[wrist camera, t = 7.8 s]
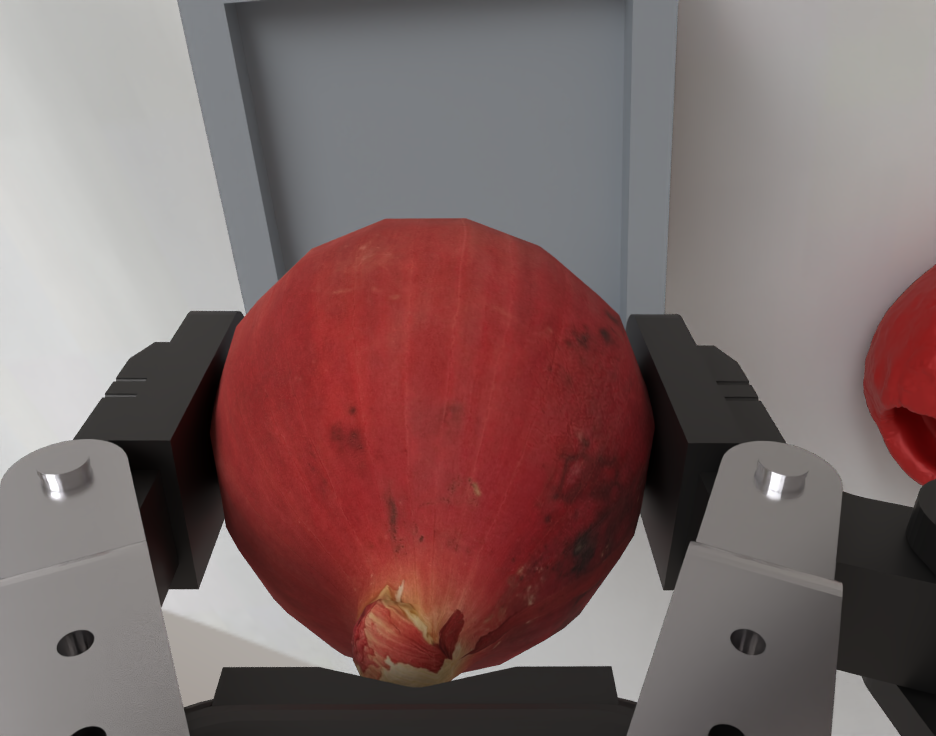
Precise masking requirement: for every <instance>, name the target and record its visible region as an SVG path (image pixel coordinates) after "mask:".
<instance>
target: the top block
mask: <svg viewBox="0 0 936 736" xmlns="http://www.w3.org/2000/svg"><path fill="white" fill-rule="evenodd" d="M177 2H178V6H179V11H180V15H181V20H182V24H183V29H184V34H185V38H186V43H187V47H188V52H189V56H190V61H191V65H192V70H193V75H194V79H195V84H196V88H197V93H198V97H199V102H200V106H201V111H202V116H203V120H204V125H205V129H206V134H207V138H208V143H209V147H210V152H211V157H212V161H213V166H214V170H215V175H216V179H217V184H218V188H219V193H220V198H221V202H222V207H223V211H224V216H225V220H226V225H227V229H228V234H229V239H230V243H231V248H232V252H233V257H234V261H235V266H236V270H237V275H238V280H239V284H240V289H241V293H242V298H243V302H244V307H245V311H246V314H247V313H248V312H249V311H250V309H251V308H252V307H253V306H254V305H255V303H256V302H257V301H258V300H259V299H260V298H261V297H262V296H263V295H264V294H265V293H266V292H267V291H268V290H269V289H270V288H271V287H272V286H273V285H274V284H276V283H277V282H278V281H279V280H280V279H281V278H282V277H283V276H284V275H285V274H286V273H287V272H288V271H289V270H290V269H291V268H292V267H293V266H294V265H295V264H296V263H297V262H298V261H299V260H300V259H301V258H302V257H304V256H305V255H306V254H307V253H308V252H309V251H310V250H311V249H312V248H315V247H317V246H319V245H322V244H324V243H327V242H329V241H332V240H334V239H337V238H339V237H342V236H344V235H347V234H349V233H351V232H354V231H356V230H359V229H361V228H364V227H366V226H369V225H371V224H374V223H376V222H378V221H381V220H383V219H406V218H467V219H469V220H472V221H475V222H477V223H480V224H483V225H485V226H488V227H491V228H493V229H496V230H499V231H501V232H504V233H507V234H509V235H512V236H514V237H517V238H520V239H522V240H525V241H528V242H530V243H533V244H536V245H538V246H540V247H542V248H543V249H544V250H546V251H547V252H548V253H550V254H551V255H552V256H553V257H555V258H556V259H557V260H558V261H559V262H560V263H562V264H563V265H564V266H565V267H566V268H567V269H569V270H570V271H571V272H572V273H573V274H574V275H576V276H577V277H578V278H579V279H580V280H581V281H583V282H584V283H585V284H586V285H587V286H589V287H590V288H591V289H592V290H593V291H594V292H596V293H597V294H598V295H599V296H600V297H601V298H602V299H603V300H604V301H605V302H606V303H607V304H608V305H609V306H610V307H611V308H612V309H613V310H615V311H616V312H617V313H618V314H619V316H620V318H621V321H622V323H623V326H624V329H625V330H626V325H627V321H628V318H629V316H630V315H631V314H664V313H665V290H666V268H667V245H668V223H669V200H670V177H671V155H672V132H673V110H674V87H675V65H676V42H677V19H678V0H177Z"/></svg>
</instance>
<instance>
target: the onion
mask: <svg viewBox="0 0 936 736" xmlns="http://www.w3.org/2000/svg"><path fill="white" fill-rule="evenodd" d="M654 430H655V423H654V417H653V411H652V406H651V402H650V398H649V394H648V389H647V386H646V384H645V381H644V378H643V376H642V373H641V371H640V368H639V365H638V363H637V360H636V358H635V355H634V352H633V350H632V347H631V344H630V342H629V339H628V337H627V334H626V331H625V329H624V326H623V323H622V321H621V318H620V316H619V314H618V313H617V312H616V311H615V310H613V309H612V308H611V307H610V306H609V305H608V304H607V303H606V302H605V301H604V300H603V299H602V298H601V297H600V296H599V295H598V294H597V293H596V292H594V291H593V290H592V289H591V288H590V287H589V286H587V285H586V284H585V283H584V282H583V281H581V280H580V279H579V278H578V277H577V276H576V275H574V274H573V273H572V272H571V271H570V270H569V269H567V268H566V267H565V266H564V265H563V264H562V263H560V262H559V261H558V260H557V259H556V258H555V257H553V256H552V255H551V254H550V253H548V252H547V251H546V250H544V249H543V248H542V247H540V246H538V245H536V244H533V243H530V242H528V241H525V240H522V239H520V238H517V237H514V236H512V235H509V234H507V233H504V232H501V231H499V230H496V229H493V228H491V227H488V226H485V225H483V224H480V223H477V222H475V221H472V220H469V219H467V218H406V219H383V220H381V221H378V222H376V223H374V224H371V225H369V226H366V227H364V228H361V229H359V230H356V231H354V232H351V233H349V234H347V235H344V236H342V237H339V238H337V239H334V240H332V241H329V242H327V243H324V244H322V245H319V246H317V247H315V248H312V249H311V250H310V251H309V252H308V253H307V254H306V255H305V256H304V257H302V258H301V259H300V260H299V261H298V262H297V263H296V264H295V265H294V266H293V267H292V268H291V269H290V270H289V271H288V272H287V273H286V274H285V275H284V276H283V277H282V278H281V279H280V280H279V281H278V282H277V283H276V284H274V285H273V286H272V287H271V288H270V289H269V290H268V291H267V292H266V293H265V294H264V295H263V296H262V297H261V298H260V299H259V300H258V301H257V302H256V303H255V305H254V306H253V307H252V308H251V309H250V311H249V312H248V313H247V314H246V316H245V317H244V318H243V319H242V320H241V322H240V323H239V324H238V325H237V327H236V329H235V332H234V336H233V339H232V342H231V345H230V349H229V352H228V355H227V359H226V362H225V365H224V368H223V372H222V375H221V378H220V382H219V385H218V388H217V391H216V396H215V401H214V406H213V412H212V420H211V427H210V438H211V444H212V449H213V455H214V460H215V466H216V471H217V477H218V482H219V488H220V493H221V499H222V505H223V511H224V517H225V523H226V528H227V530H228V532H229V533H230V535H231V537H232V539H233V541H234V542H235V544H236V546H237V548H238V550H239V551H240V552H241V554H242V555H243V557H244V558H245V559H246V561H247V562H248V564H249V565H250V566H251V568H252V569H253V571H254V572H255V573H256V575H257V576H258V578H259V579H260V580H261V582H262V583H263V585H264V586H265V587H266V589H267V590H268V592H269V593H270V594H271V596H272V597H273V599H274V600H275V601H276V602H277V603H278V604H279V605H280V606H281V607H282V608H283V609H284V610H285V611H286V612H287V613H288V614H290V615H291V616H292V617H294V618H295V619H296V620H297V621H299V622H300V623H301V624H303V625H304V626H305V627H307V628H308V629H309V630H310V631H312V632H313V633H314V634H316V635H317V636H318V637H320V638H321V639H322V640H323V641H325V642H326V643H327V644H329V645H330V646H331V647H333V648H334V649H335V650H337V651H338V652H340V653H342V654H343V655H345V656H348V657H351V658H353V661H354V663H355V666H356V668H357V670H358V672H359V674H360V676H362V677H366V678H371V679H376V680H380V681H385V682H389V683H394V684H398V685H403V686H408V687H426V686H431V685H435V684H440V683H444V682H449V681H451V680H452V679H454V678H455V677H456V676H458V675H459V674H461V673H464V672H468V671H473V670H478V669H482V668H487V667H491V666H496V665H500V664H502V663H504V662H506V661H508V660H510V659H511V658H513V657H515V656H517V655H519V654H521V653H522V652H524V651H526V650H528V649H530V648H532V647H533V646H535V645H537V644H539V643H541V642H543V641H544V640H546V639H548V638H549V637H551V636H552V635H554V634H555V633H557V632H559V631H560V630H562V629H563V628H565V627H566V626H567V625H568V624H569V623H570V622H571V621H572V620H574V619H575V618H576V617H577V616H578V615H579V614H580V613H581V612H582V610H583V609H584V607H585V606H586V605H587V603H588V602H589V600H590V599H591V598H592V596H593V595H594V593H595V592H596V591H597V589H598V588H599V587H600V585H601V584H602V582H603V581H604V580H605V578H606V577H607V575H608V574H609V573H610V571H611V570H612V568H613V567H614V566H615V564H616V563H617V561H618V560H619V559H620V557H621V555H622V554H623V552H624V551H625V549H626V547H627V546H628V544H629V543H630V541H631V539H632V538H633V536H634V534H635V530H636V526H637V522H638V519H639V515H640V511H641V507H642V501H643V495H644V490H645V484H646V478H647V472H648V466H649V460H650V454H651V448H652V442H653V436H654Z"/></svg>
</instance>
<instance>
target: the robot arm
mask: <svg viewBox="0 0 936 736" xmlns="http://www.w3.org/2000/svg"><path fill="white" fill-rule="evenodd" d="M243 318H244V316H243V314H242V313H241V312H240V311H190V312H189V313H188V314H187V316H186V318H185V319H184V321H183V322H182V324H181V326H180V327H179V329H178V330H177V332H176V333H175V335H174V337H173V338H172V340H171V341H170V342H154V343H153V344H151V345H150V346H148V347H147V348H145V349H144V350H142V351H141V352H139V353H137V354H136V355H134V356H133V357H131V358H130V359H129V360H128V361H127V363H126V364H125V366H124V367H123V369H122V370H121V371H120V373H119V374H118V376H117V377H116V382H113V383H112V384H111V386H110V387H109V389H108V390H107V392H106V393H105V398H102V399H101V400H100V402H99V403H98V404H97V406H96V407H95V409H94V410H93V412H92V413H91V414H90V416H89V417H88V419H87V420H86V422H85V423H84V425H83V426H82V427H81V429H80V430H79V432H78V433H77V435H76V436H75V437H74V439H73V440H70V441H64V442H60V443H56V444H52V445H49V446H46V447H43V448H41V449H38V450H36V451H34V452H32V453H30V454H28V455H26V456H24V457H23V458H21V459H20V460H18V461H17V462H16V463H14V464H13V465H12V466H11V467H10V468H9V469H8V470H7V472H6V473H5V474H4V476H3V478H2V480H1V483H0V736H831V731H832V719H833V706H834V694H835V682H836V669H837V670H841V671H845V672H848V673H852V674H856V675H860V676H862V678H863V681H864V683H865V685H866V687H867V688H868V690H869V691H870V693H871V694H872V696H873V697H874V699H875V700H876V701H877V703H878V704H879V706H880V707H881V708H882V710H883V711H884V713H885V714H886V715H887V717H888V718H889V720H890V721H891V722H892V724H893V725H894V727H895V728H896V729H897V731H898V732H899V734H900V735H901V736H936V479H934V480H932V481H929V482H928V483H926V484H924V485H923V486H922V488H921V489H920V491H919V494H918V497H917V499H916V502H915V505H914V508H913V507H908V506H903V505H898V504H893V503H888V502H883V501H878V500H873V499H868V498H864V497H859V496H855V495H852V494H849V493H846V492H843V484H842V480H841V478H840V476H839V474H838V473H837V471H836V470H835V469H834V468H833V467H832V466H831V465H830V464H829V463H828V462H826V461H825V460H824V459H822V458H821V457H819V456H817V455H816V454H814V453H812V452H810V451H807V450H805V449H802V448H800V447H797V446H793V445H790V444H787V443H786V442H785V440H784V439H783V437H782V435H781V434H780V432H779V430H778V429H777V427H776V425H775V424H774V422H773V420H772V419H771V417H770V415H769V414H768V412H767V410H766V409H765V407H764V405H763V404H762V402H761V401H758V396H757V394H756V392H755V391H754V389H753V387H752V386H751V385H749V381H748V379H747V377H746V376H745V374H744V372H743V371H742V369H741V367H740V366H739V364H738V362H736V361H735V360H733V359H732V358H731V357H729V356H728V355H726V354H725V353H723V352H722V351H721V350H719V349H718V348H716V347H715V346H697V345H696V343H695V341H694V340H693V338H692V336H691V334H690V332H689V330H688V328H687V327H686V325H685V323H684V321H683V319H682V317H681V316H680V315H678V314H631V315H630V316H629V318H628V321H627V325H626V330H625V331H626V334H627V337H628V339H629V342H630V344H631V347H632V350H633V352H634V355H635V358H636V360H637V363H638V365H639V368H640V371H641V373H642V376H643V378H644V381H645V384H646V386H647V389H648V394H649V398H650V402H651V406H652V411H653V417H654V423H655V430H654V436H653V442H652V448H651V454H650V460H649V466H648V472H647V478H646V484H645V490H644V495H643V501H642V507H641V511H640V514H641V517H642V520H643V524H644V527H645V530H646V534H647V537H648V540H649V544H650V547H651V550H652V554H653V557H654V560H655V564H656V567H657V570H658V574H659V577H660V580H661V584H662V587H663V590H674V592H673V595H672V598H671V601H670V604H669V607H668V610H667V613H666V616H665V619H664V622H663V625H662V628H661V632H660V635H659V638H658V641H657V644H656V647H655V650H654V653H653V656H652V659H651V662H650V665H649V668H648V671H647V674H646V678H645V681H644V684H643V687H642V690H641V693H640V696H639V699H638V702H634V701H630V700H626V699H622V698H618V697H617V692H616V687H615V682H614V677H613V672H612V667H611V666H578V667H513V668H508V669H504V670H499V671H494V672H490V673H485V674H481V675H476V676H472V677H467V678H463V679H458V680H454V681H449V682H444V683H440V684H435V685H431V686H426V687H408V686H403V685H398V684H394V683H389V682H385V681H380V680H376V679H371V678H366V677H362V676H357V675H353V674H348V673H344V672H339V671H334V670H330V669H325V668H321V667H223V669H222V672H221V676H220V679H219V683H218V686H217V689H216V693H215V696H214V699H212V700H208V701H203V702H199V703H196V704H193V705H190V706H187V707H183V703H182V698H181V694H180V690H179V685H178V681H177V676H176V672H175V667H174V663H173V658H172V654H171V649H170V645H169V640H168V636H167V632H166V627H165V623H164V618H163V614H162V609H161V607H162V604H163V602H164V600H165V597H166V595H167V592H168V590H169V589H199V587H200V584H201V581H202V579H203V576H204V573H205V570H206V568H207V565H208V562H209V559H210V557H211V554H212V551H213V549H214V546H215V543H216V540H217V538H218V535H219V532H220V529H221V527H222V524H223V521H224V519H225V517H224V511H223V505H222V499H221V493H220V488H219V482H218V477H217V471H216V466H215V460H214V455H213V449H212V444H211V438H210V427H211V420H212V412H213V406H214V401H215V396H216V391H217V388H218V385H219V382H220V378H221V375H222V372H223V368H224V365H225V362H226V359H227V355H228V352H229V349H230V345H231V342H232V339H233V336H234V332H235V329H236V327H237V325H238V324H239V323H240V322H241V320H242V319H243Z"/></svg>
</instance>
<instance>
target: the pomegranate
mask: <svg viewBox="0 0 936 736" xmlns="http://www.w3.org/2000/svg"><path fill="white" fill-rule="evenodd" d="M863 386H864V395H865V398H866V403H867V407H868V408H869V412H870V413H871V416H872V418H873V419H874V421H875V422H876V424H877V426H878V428H879V430H880V433H881V434H882V436H883V439H884V442H885V444H886V446H887V448H888V450H889V452H890V454H891V455H892V457H893V458H894V459H895V461H896V462H897V463H898V464H899V466H900V467H901V468H902V469H903V470H904V472H905V473H906V474H907V475H908V476H910V477H911V478H912V479H913V480H915V481H916V482H917V483H919V484H920V485H922V486H923V485H924V484H926V483H928V482H929V481H932V480H934V479H936V264H935V265H934V266H933V267H932V268H931V269H930V270H928V271H927V272H925V273H924V274H923V275H922V276H921V277H920V278H918V279H917V280H916V281H915V282H914V283H913V284H912V285H911V286H910V287H909V288H908V289H907V290H906V291H905V292H904V293H903V294H902V295H901V296H900V297H899V298H898V299H897V300H896V302H895V303H894V304H893V305H892V306H891V307H890V308H889V309H888V311H887V312H886V314H885V315H884V317H883V319H882V320H881V322H880V324H879V325H878V328H877V330H876V332H875V334H874V336H873V339H872V342H871V345H870V349H869V351H868V355H867V357H866V360H865V373H864V380H863Z"/></svg>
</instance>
